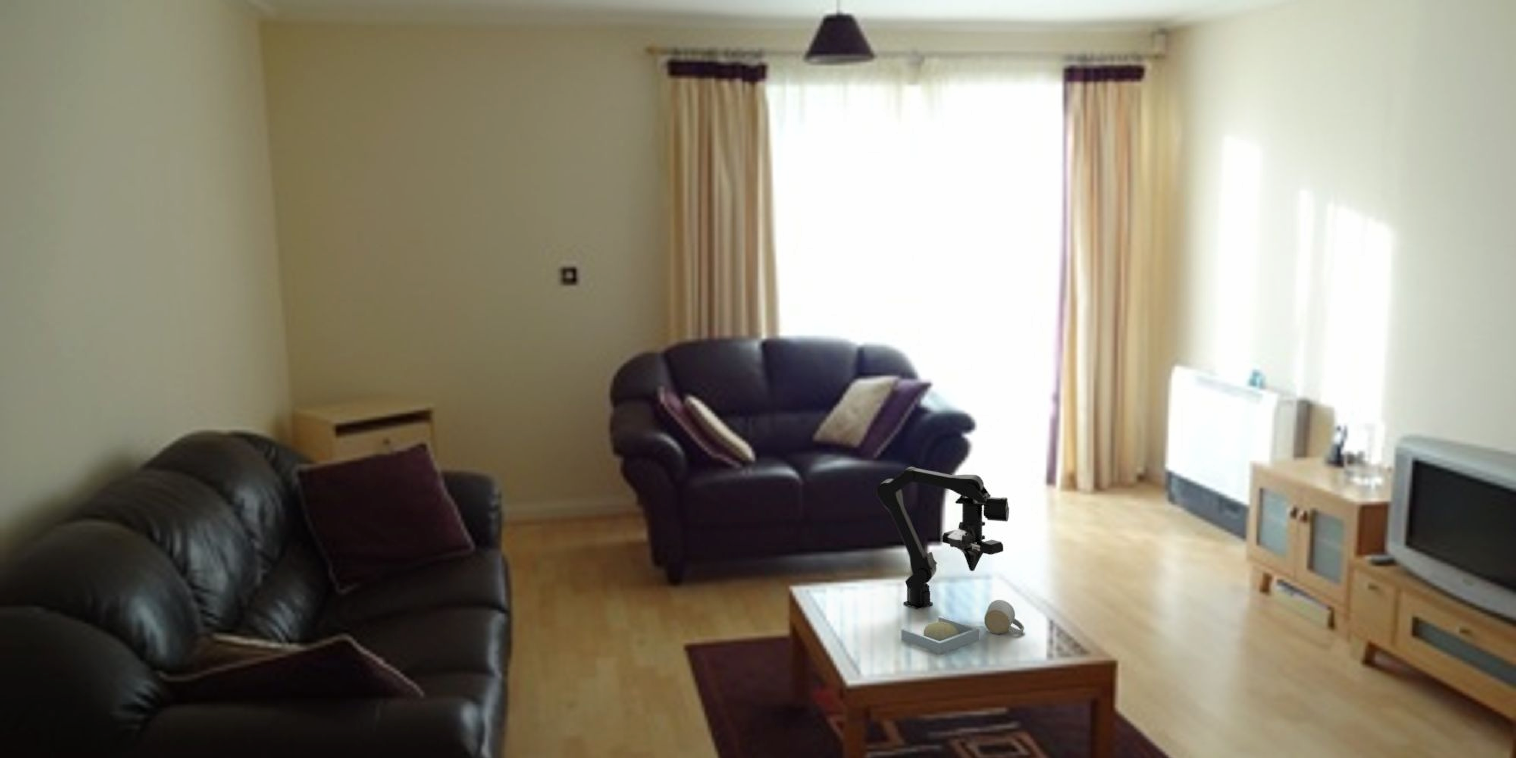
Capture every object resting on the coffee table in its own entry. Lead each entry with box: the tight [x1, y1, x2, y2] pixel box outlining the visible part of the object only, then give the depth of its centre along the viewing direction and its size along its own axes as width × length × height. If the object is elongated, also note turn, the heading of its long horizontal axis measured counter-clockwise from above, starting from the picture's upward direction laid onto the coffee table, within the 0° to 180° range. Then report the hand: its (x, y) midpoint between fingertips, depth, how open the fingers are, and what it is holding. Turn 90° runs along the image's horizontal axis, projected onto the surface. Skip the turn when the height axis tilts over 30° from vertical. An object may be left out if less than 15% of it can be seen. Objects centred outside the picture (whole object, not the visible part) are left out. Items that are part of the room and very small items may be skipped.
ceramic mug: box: [983, 599, 1025, 635], centre depth 295 cm, size 11×8×8 cm
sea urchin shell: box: [923, 621, 959, 641], centre depth 289 cm, size 9×8×8 cm
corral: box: [900, 615, 981, 655], centre depth 290 cm, size 14×16×3 cm
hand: (972, 570), depth 311 cm, fingers closed
